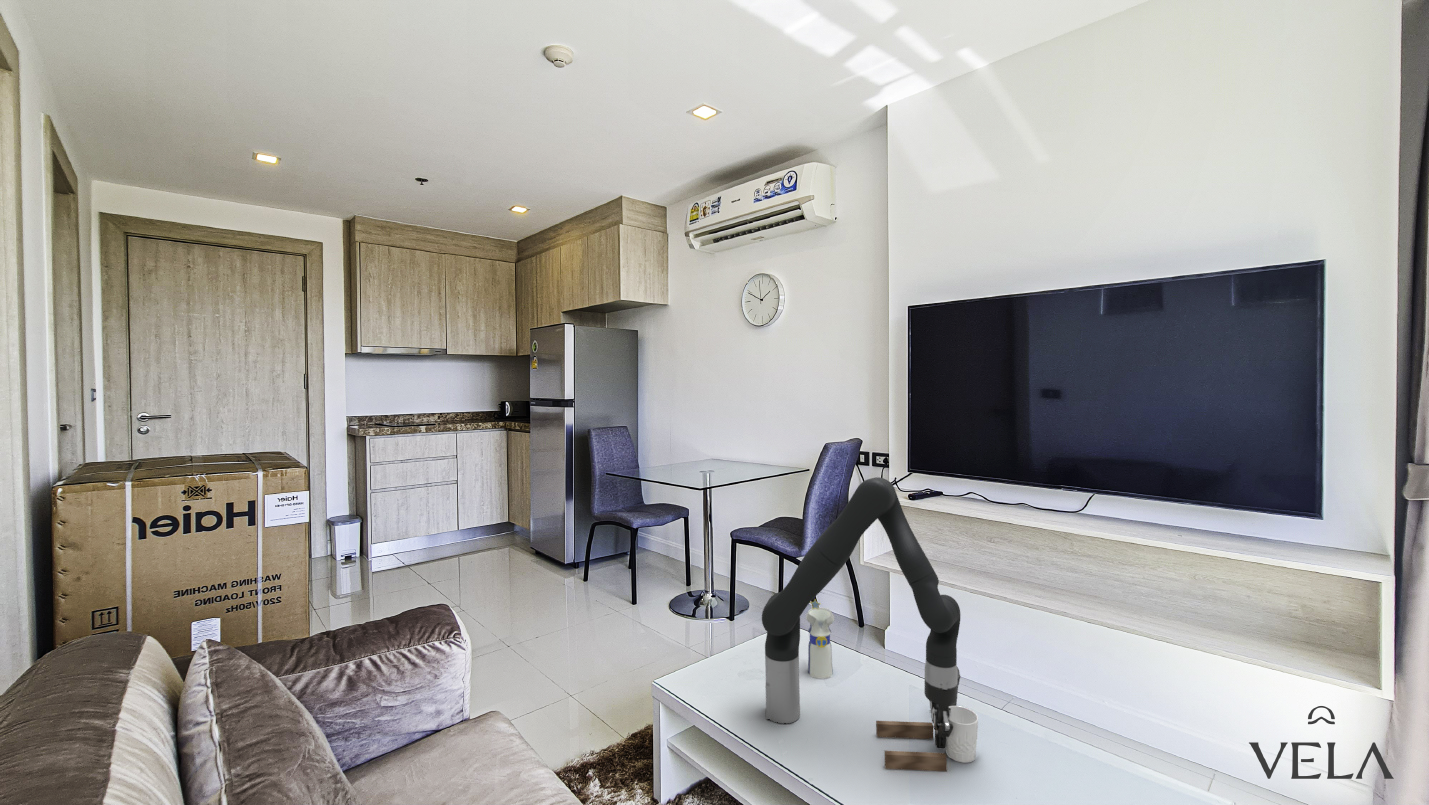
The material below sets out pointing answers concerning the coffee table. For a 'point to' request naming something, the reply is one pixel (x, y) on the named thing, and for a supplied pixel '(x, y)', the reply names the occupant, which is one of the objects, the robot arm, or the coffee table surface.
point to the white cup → (962, 734)
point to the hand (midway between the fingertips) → (940, 746)
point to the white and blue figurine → (819, 642)
